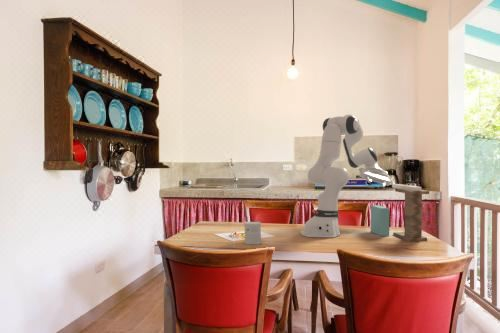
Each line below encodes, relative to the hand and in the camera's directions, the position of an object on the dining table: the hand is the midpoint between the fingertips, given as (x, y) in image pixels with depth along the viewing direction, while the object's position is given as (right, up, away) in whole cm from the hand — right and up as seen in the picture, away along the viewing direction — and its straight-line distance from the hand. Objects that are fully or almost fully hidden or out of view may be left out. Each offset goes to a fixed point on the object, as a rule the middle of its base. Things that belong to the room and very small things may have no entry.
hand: (376, 184), depth 206 cm
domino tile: (+7, -1, -24) cm, 25 cm away
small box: (-79, -28, -39) cm, 93 cm away
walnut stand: (+7, -28, -29) cm, 41 cm away
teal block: (-5, -28, -17) cm, 33 cm away
